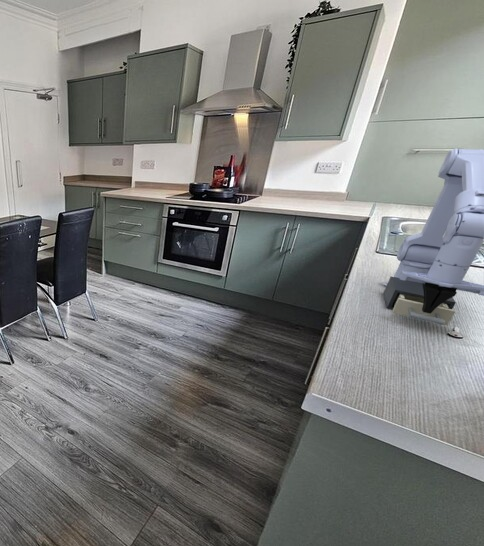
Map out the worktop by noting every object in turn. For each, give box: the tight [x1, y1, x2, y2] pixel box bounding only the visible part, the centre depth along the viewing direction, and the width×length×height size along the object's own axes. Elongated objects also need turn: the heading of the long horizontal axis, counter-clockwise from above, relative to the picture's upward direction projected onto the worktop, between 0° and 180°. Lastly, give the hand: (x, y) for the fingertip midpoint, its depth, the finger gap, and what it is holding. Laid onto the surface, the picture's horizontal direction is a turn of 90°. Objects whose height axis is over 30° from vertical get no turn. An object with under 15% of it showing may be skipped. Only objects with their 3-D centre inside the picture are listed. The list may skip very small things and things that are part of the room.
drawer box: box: [382, 276, 457, 310], centre depth 90 cm, size 13×12×6 cm
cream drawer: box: [391, 293, 456, 327], centre depth 84 cm, size 17×10×4 cm, turn 141°
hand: (426, 311), depth 80 cm, fingers closed
